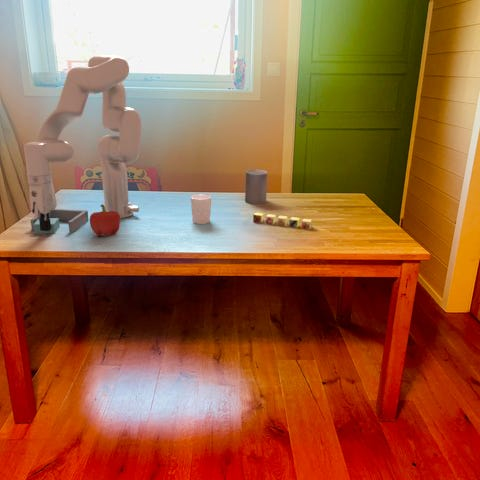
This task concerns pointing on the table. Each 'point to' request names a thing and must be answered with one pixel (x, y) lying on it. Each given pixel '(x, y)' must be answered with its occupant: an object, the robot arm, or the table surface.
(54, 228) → the teal square block
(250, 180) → the pillar candle
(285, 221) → the row of toy blocks
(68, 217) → the box
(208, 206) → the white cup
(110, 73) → the robot arm
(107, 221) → the vegetable
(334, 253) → the table surface
